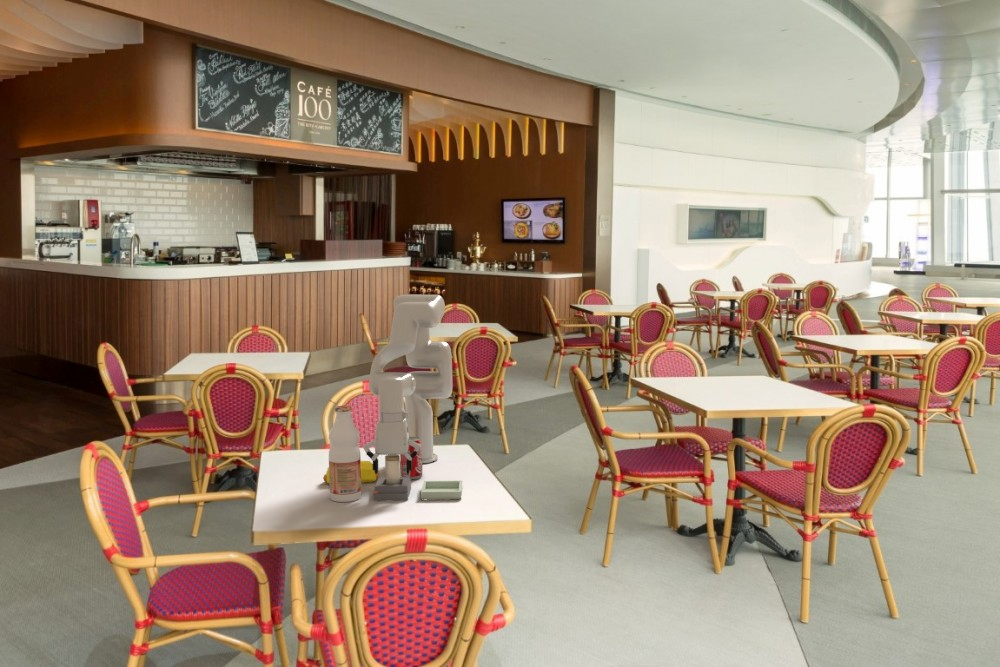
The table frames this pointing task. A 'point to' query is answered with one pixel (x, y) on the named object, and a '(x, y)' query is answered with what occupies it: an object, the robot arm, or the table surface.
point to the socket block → (392, 490)
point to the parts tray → (441, 490)
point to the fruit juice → (344, 458)
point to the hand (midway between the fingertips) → (392, 472)
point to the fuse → (392, 469)
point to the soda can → (416, 461)
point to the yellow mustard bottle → (366, 473)
